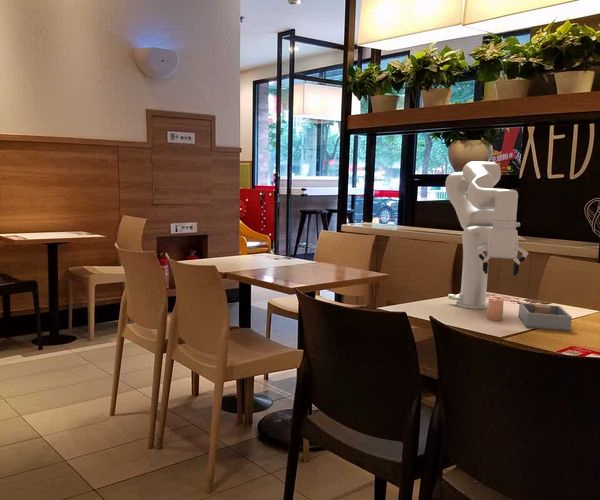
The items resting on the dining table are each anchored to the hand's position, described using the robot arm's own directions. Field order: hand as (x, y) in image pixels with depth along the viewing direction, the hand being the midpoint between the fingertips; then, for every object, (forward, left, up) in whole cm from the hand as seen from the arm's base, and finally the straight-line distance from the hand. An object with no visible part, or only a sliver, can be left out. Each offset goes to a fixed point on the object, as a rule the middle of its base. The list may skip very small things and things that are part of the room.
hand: (500, 274), depth 196 cm
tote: (+15, 0, -16) cm, 22 cm away
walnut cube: (+15, +3, -16) cm, 22 cm away
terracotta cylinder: (-1, 0, -16) cm, 16 cm away
